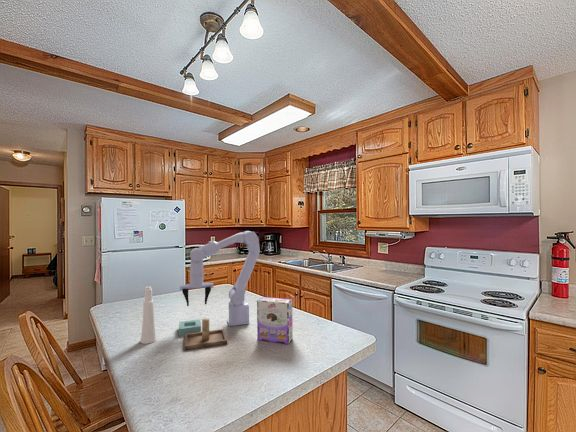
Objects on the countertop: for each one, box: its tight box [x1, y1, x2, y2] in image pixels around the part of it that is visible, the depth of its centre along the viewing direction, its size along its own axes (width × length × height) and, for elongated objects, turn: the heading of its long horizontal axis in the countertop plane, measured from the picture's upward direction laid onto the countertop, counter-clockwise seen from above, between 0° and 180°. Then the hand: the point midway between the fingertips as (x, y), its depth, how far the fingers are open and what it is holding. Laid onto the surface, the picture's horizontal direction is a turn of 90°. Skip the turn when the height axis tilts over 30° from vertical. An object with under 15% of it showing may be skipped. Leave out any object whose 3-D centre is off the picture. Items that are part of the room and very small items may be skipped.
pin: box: [201, 317, 210, 341], centre depth 115 cm, size 3×3×8 cm
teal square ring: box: [178, 318, 202, 337], centre depth 125 cm, size 9×9×3 cm
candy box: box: [256, 296, 294, 345], centre depth 117 cm, size 14×6×16 cm, turn 71°
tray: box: [184, 328, 229, 351], centre depth 115 cm, size 16×12×2 cm
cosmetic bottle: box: [139, 285, 157, 345], centre depth 115 cm, size 6×6×22 cm
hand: (196, 304), depth 129 cm, fingers open, 7 cm apart
